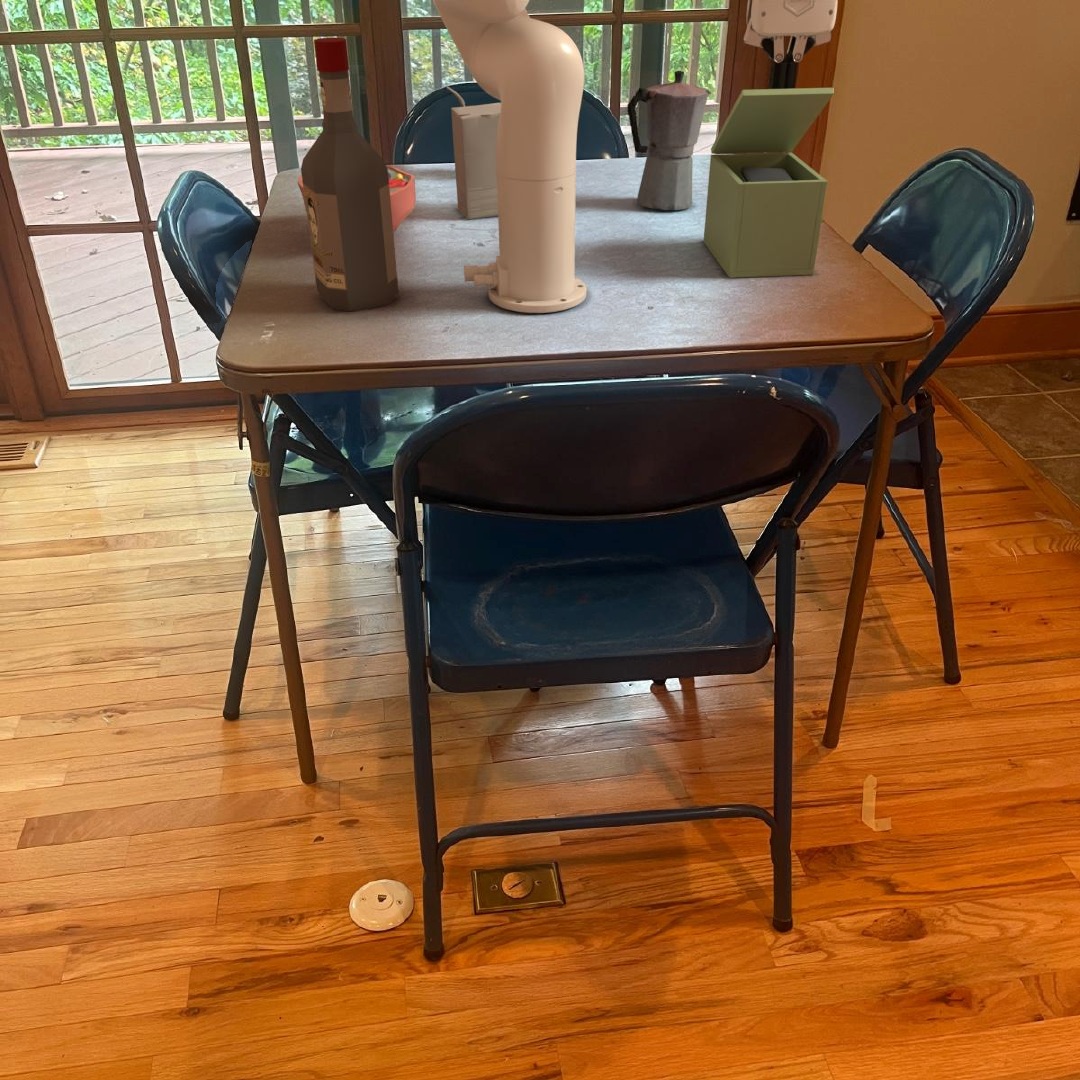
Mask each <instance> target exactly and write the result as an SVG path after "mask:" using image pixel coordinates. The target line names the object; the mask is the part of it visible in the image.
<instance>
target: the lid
mask: <svg viewBox="0 0 1080 1080" xmlns="http://www.w3.org/2000/svg"><path fill="white" fill-rule="evenodd" d="M834 95H835V87H809V88H807V87H806V88H793V89H770V88H768V89H767V88H765V89H764V88H763V89H762V88H761V89H760V88H759V89H742V90H741V91H740V94H739V95H738V98H737V99H736V101H735V103H734V105H733V106H732V109H731V111H730V112H729V114H728V116H727V118H726V120H725V122H724V124H723V125H722V127H721V129H720V131H719V133H718V135H717V136H716V138H715V141H714V142H713V144H712V146H711V148H710V154H711V155H718V154H753V153H788V152H793V151H794V150H795V148H796V147H797V146H798V144H799V143H800V141H802V138H803V137H804V136H805V135H806V133H807V132H808V130H809V129H810V128H811V126H812V125H813V124H814V122H815V121H816V119H817V118H818V116H819V115H820V114H821V113H822V111H823V110H824V108H825V107H826V106H827V104H828V102H829V101H830V100H831V99H832V97H833V96H834Z"/></svg>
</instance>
